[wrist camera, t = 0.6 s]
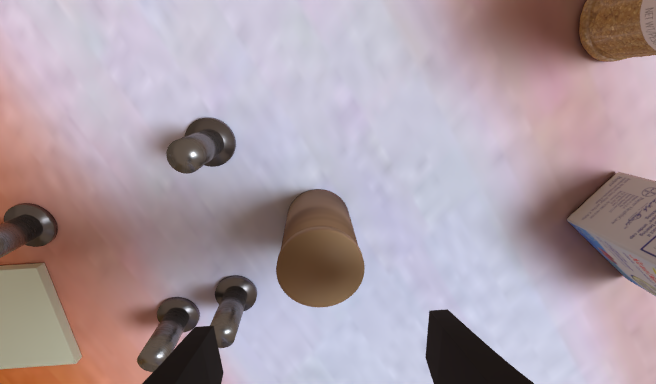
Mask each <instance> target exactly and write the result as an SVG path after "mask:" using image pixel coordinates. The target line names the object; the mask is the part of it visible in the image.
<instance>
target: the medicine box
mask: <svg viewBox="0 0 656 384" xmlns="http://www.w3.org/2000/svg"><path fill="white" fill-rule="evenodd" d="M567 221H568V222H569V223H570V224H571V225H572V226H573V227H574V228H575V229H576V230H577V231H578V232H579V233H580V234H581V235H582V236H583V237H584V238H585V239H586V240H587V241H588V242H589V243H590V244H591V245H592V246H593V247H595V248H596V249H597V250H598V251H599V252H600V253H601V254H602V255H603V256H604V257H605V258H606V259H607V260H608V261H609V262H610V263H611V264H612V265H613V266H614V267H615V268H616V269H617V270H618V271H619V272H620V273H621V274H622V275H623V276H624V277H625V278H627V279H628V280H630V281H631V282H633V283H634V284H636V285H638V286H640V287H641V288H643V289H645V290H646V291H648V292H649V293H651V294H653V295H654V296H656V181H653V180H649V179H645V178H641V177H637V176H633V175H629V174H625V173H621V172H618V173H616V174H615V175H614V176H613V177H612V178H611V179H610V180H608V181H607V182H606V183H605V184H604V185H603V186H602V187H601V188H600V189H598V190H597V191H596V192H595V193H594V194H593V195H592V196H591V197H590V198H589V199H588V200H587V201H585V202H584V203H583V204H582V205H581V206H580V207H579V208H578V209H577V210H576V211H575V212H574V213H573V214H572V215H570V216H569V217H568V218H567Z"/></svg>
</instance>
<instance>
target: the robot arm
mask: <svg viewBox="0 0 656 384" xmlns="http://www.w3.org/2000/svg"><path fill="white" fill-rule="evenodd" d="M426 360H427V363H428V367H429V370H430V373H431V376H432V379H433V382H434V384H534V383H533V382H531V381H530V380H529V379H528V378H526V377H525V376H524V375H522V374H521V373H520V372H519V371H517V370H516V369H515V368H514V367H513V366H511V365H510V364H509V363H508V362H506V361H505V360H504V359H503V358H502V357H500V356H499V355H498V354H497V353H496V352H495V351H493V350H492V349H491V348H490V347H489V346H488V345H486V344H485V343H484V342H483V341H482V340H481V339H480V338H479V337H477V336H476V335H475V334H474V333H473V332H472V331H471V330H470V329H469V328H467V327H466V326H465V325H464V324H463V323H462V322H461V321H460V320H459V319H457V318H456V317H455V316H454V315H453V314H452V313H451V312H450V311H449V310H434V311H429V323H428V335H427V347H426ZM222 377H223V369H222V364H221V359H220V354H219V349H218V344H217V340H216V335H215V330H214V326H204V327H195V328H194V329H193V330H192V331H191V332H190V333H189V334H188V335H187V336H186V337H185V338H184V339H183V340H182V342H181V343H180V344H179V345H178V346H177V347H176V348H175V349H174V350H173V351H172V352H171V354H170V355H169V356H168V357H167V358H166V359H165V360H164V361H163V362H162V363H161V364H160V366H159V367H158V368H157V369H156V370H155V371H154V372H153V373H152V374H151V375H150V376H149V377H148V378H147V379H146V380H145V381H144V382H143V384H221V382H222Z"/></svg>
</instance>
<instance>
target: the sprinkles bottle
mask: <svg viewBox="0 0 656 384" xmlns="http://www.w3.org/2000/svg"><path fill="white" fill-rule="evenodd" d="M579 35H580V41H581V43H582V45H583V48H584V49H586V50H587V52H588V54H590V55H591V56H592V57H593V58H595V59H597V60H598V61H618V60H622V59H627V58H631V57H642V56H651V55H656V0H587V1H586V3H585V4H584V7H583V10H582V13H581V16H580V29H579Z"/></svg>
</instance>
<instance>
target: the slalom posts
mask: <svg viewBox="0 0 656 384" xmlns="http://www.w3.org/2000/svg"><path fill="white" fill-rule="evenodd" d="M235 147H236V141H235V137H234V134H233V132H232V130H231V129H230V128H229V127H228V126H227V125H226V124H225V123H224V122H222V121H220V120H218V119H215V118H202V119H199V120H196V121H195V122H193V123H192V124H191V125H190V126H189V127H188V129H187V131H186V134H185V137H184V138H181V139H179V140H176V141H174V142H172V143H171V144H170V145H169V147H168V149H167V160H168V162H169V164H170V165H171V166H172V167H173V168H174V169H175V170H176V171H178V172H181V173H193V172H195V171H196V170H198V169H199V168H201V167H202V166H203V165H206V166H219V165H222V164H224V163H226V162H227V161H228V160H229V159H230V158H231V157H232V156H233V154H234V151H235ZM56 234H57V224H56V221H55V219H54V218H53V216H52V215H51V214H50V213H49V212H48V211H47V210H45V209H44V208H42V207H40V206H37V205H34V204H29V203H24V204H19V205H17V206H14V207H12V208H10V209H9V210H8V211H7V212H6V214H5V216H4V223H1V224H0V258H1V257H3V256H4V255H6V254H8V253H10V252H12V251H14V250H15V249H17V248H19V247H21V246H23V245H27V246H33V247H38V246H43V245H45V244H47V243H49V242H51V241H52V240H53V239H54V238H55V237H56ZM215 297H216V300H217V302H218V304H219V306H218V308H217V311H216V313H215V316H214V318H213V320H212V323H211V325H210V326H214V330H215V335H216V340H217V344H218V348H225V347H228V346H230V345H231V344H232V343H233V342H234V340H235V336H236V333H237V330H238V327H239V323H240V320H241V317H242V314H243V311H245V310H248V309H249V308H251V307H252V306H253V304H254V303H255V301H256V297H257V290H256V287H255V285H254V284H253V283H252V282H251V281H250V280H249V279H247V278H245V277H242V276H230V277H227V278H225V279H223V280H222V281H221V282H220V283H219V284H218V286H217V288H216V291H215ZM199 317H200V313H199V310H198V308H197V306H196V305H195V304H194V303H193V302H191V301H189V300H187V299H185V298H179V297H175V298H170V299H168V300H166V301H164V302H163V303H162V304H161V306H160V307H159V309H158V311H157V318H158V321H159V322H160V324H159V325H158V327H157V328H156V330H155V331H154V333H153V334H152V336H151V338H150V339H149V341H148V342H147V344H146V345H145V347H144V348H143V350H142V351H141V353H140V355H139V356H138V358H137V362H138V364H139V366H140V367H141V368H142V369H144V370H146V371H149V372H154V371H155V370H156V369H157V368H158V367H159V366H160V364H161V363H162V362H163V361H164V360H165V359H166V358H167V357H168V356H169V355H170V354H171V352H172V351H173V350H174V348H175V346H176V344H177V342H178V340H179V338H180V337H181V335H182V333H183V332H187V331H190V330H192V329H193V328H194V327H195V326H196V325H197V323H198V321H199Z"/></svg>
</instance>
